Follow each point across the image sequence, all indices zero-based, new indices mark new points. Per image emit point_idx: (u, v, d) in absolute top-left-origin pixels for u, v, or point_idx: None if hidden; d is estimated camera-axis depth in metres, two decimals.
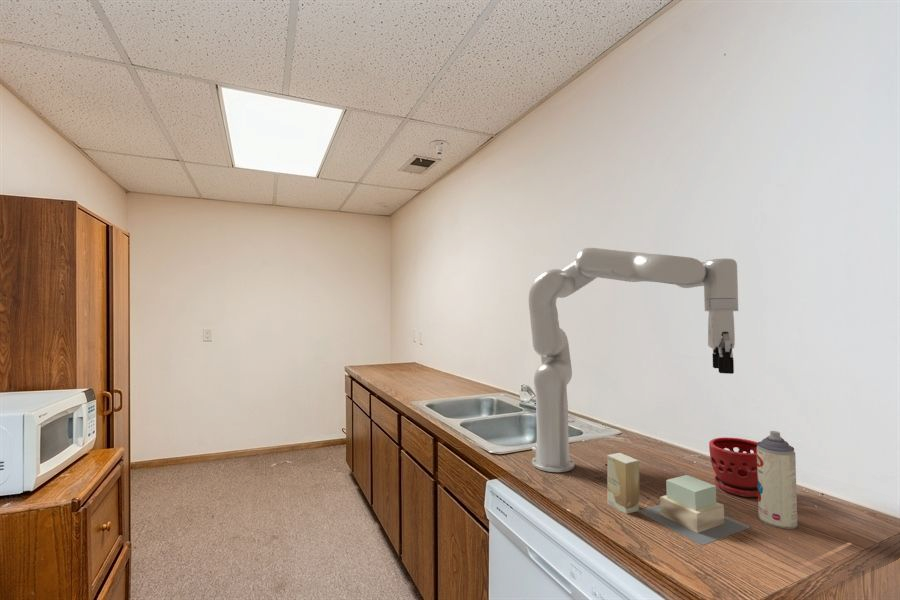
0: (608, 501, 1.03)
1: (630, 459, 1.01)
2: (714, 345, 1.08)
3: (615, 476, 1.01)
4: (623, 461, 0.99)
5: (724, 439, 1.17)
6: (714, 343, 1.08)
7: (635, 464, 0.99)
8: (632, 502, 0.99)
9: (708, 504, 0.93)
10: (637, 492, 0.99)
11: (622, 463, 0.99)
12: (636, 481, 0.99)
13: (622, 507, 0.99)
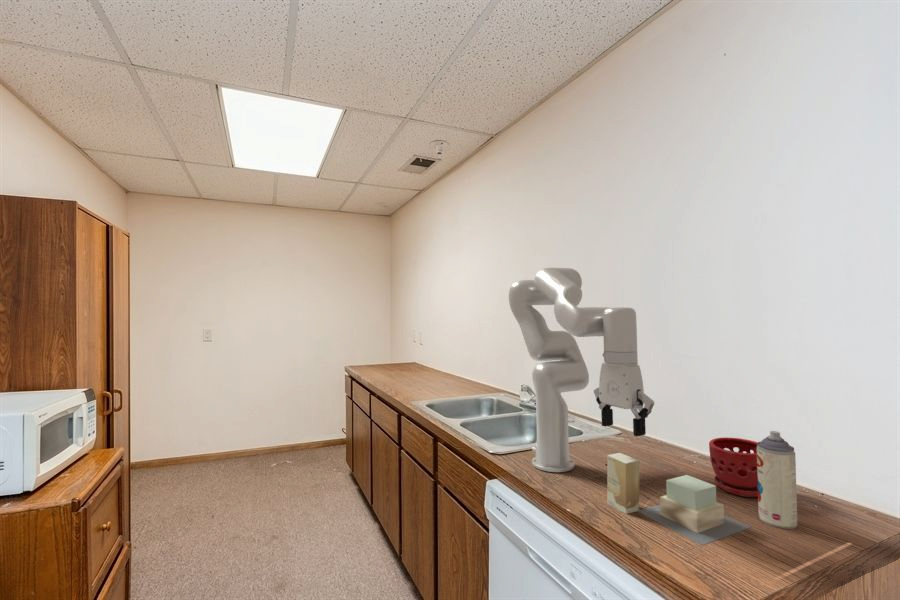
0: (608, 501, 1.03)
1: (630, 459, 1.01)
2: (631, 405, 0.96)
3: (615, 476, 1.01)
4: (623, 461, 0.99)
5: (724, 439, 1.17)
6: (631, 403, 0.96)
7: (635, 464, 0.99)
8: (632, 502, 0.99)
9: (708, 504, 0.93)
10: (637, 492, 0.99)
11: (622, 463, 0.99)
12: (636, 481, 0.99)
13: (622, 507, 0.99)
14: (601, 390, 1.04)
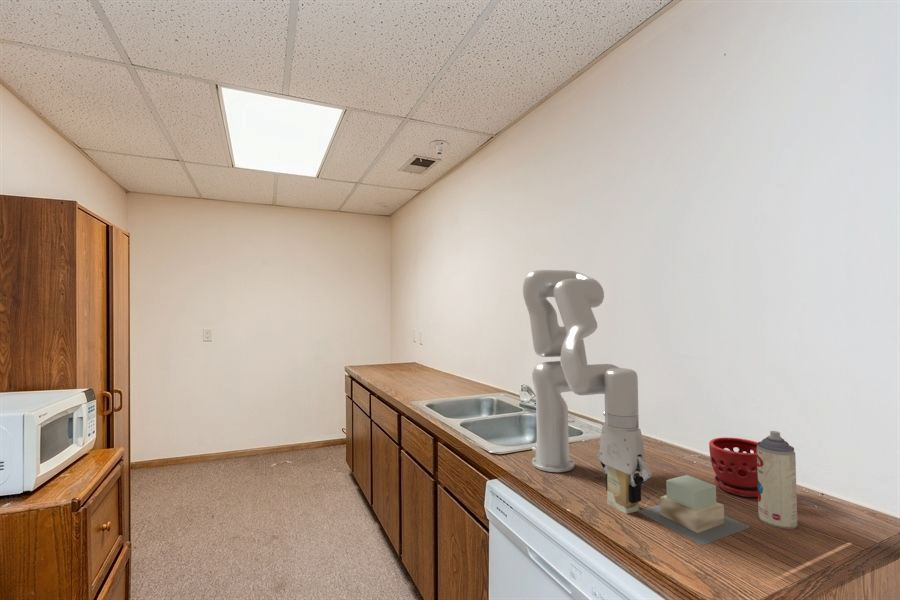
0: (608, 501, 1.03)
1: None
2: (631, 471, 0.96)
3: (615, 476, 1.01)
4: None
5: (724, 439, 1.17)
6: (631, 469, 0.96)
7: None
8: None
9: (708, 504, 0.93)
10: None
11: None
12: None
13: (622, 507, 0.99)
14: (602, 450, 1.04)
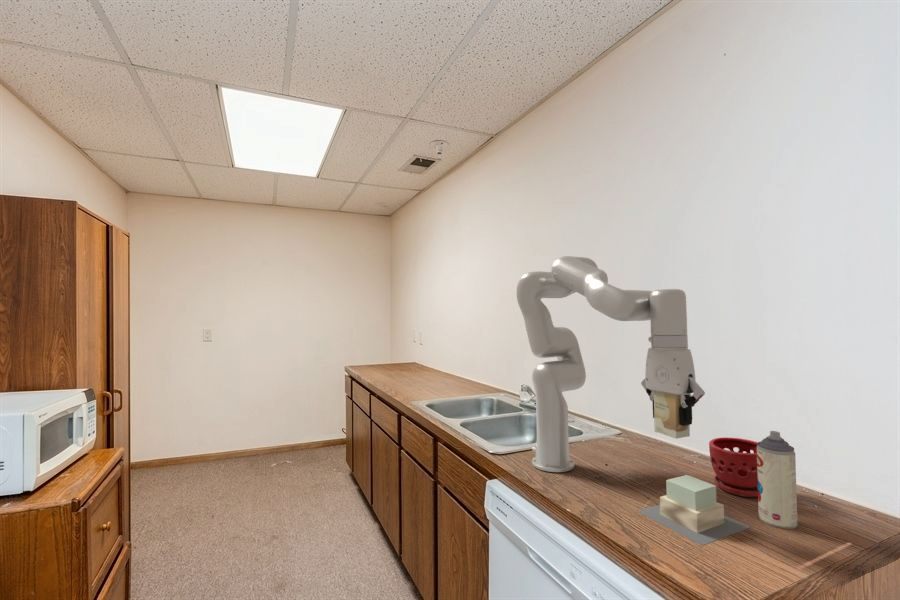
0: (655, 428, 0.99)
1: None
2: (682, 391, 0.92)
3: (664, 400, 0.96)
4: None
5: (724, 439, 1.17)
6: (682, 388, 0.92)
7: None
8: None
9: (708, 504, 0.93)
10: None
11: None
12: None
13: (672, 431, 0.94)
14: (648, 376, 1.00)
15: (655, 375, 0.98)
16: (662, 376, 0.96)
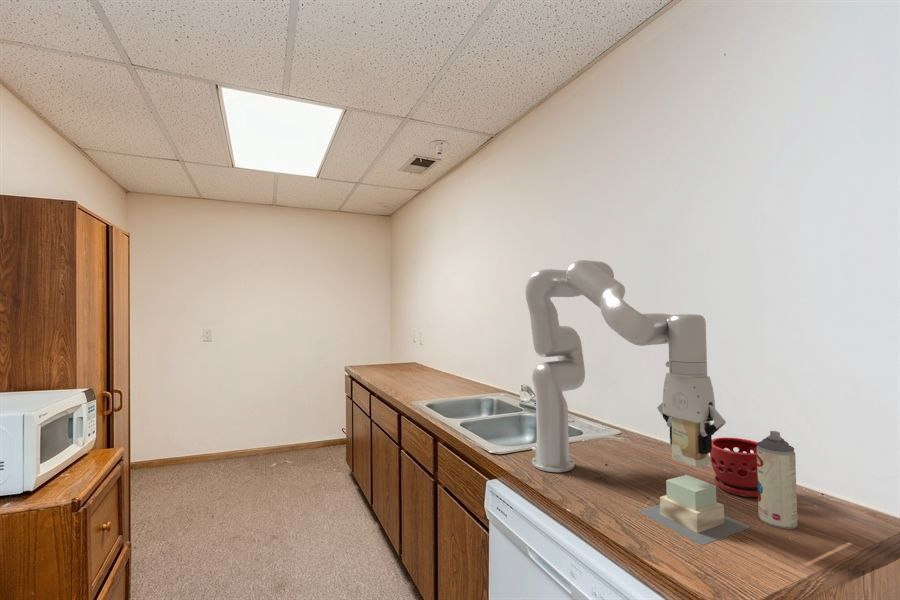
0: (673, 455, 0.97)
1: None
2: (702, 419, 0.90)
3: (682, 427, 0.95)
4: None
5: (724, 439, 1.17)
6: (703, 417, 0.90)
7: None
8: None
9: (708, 504, 0.93)
10: None
11: None
12: None
13: (691, 459, 0.93)
14: (665, 402, 0.98)
15: (673, 401, 0.96)
16: (681, 403, 0.94)
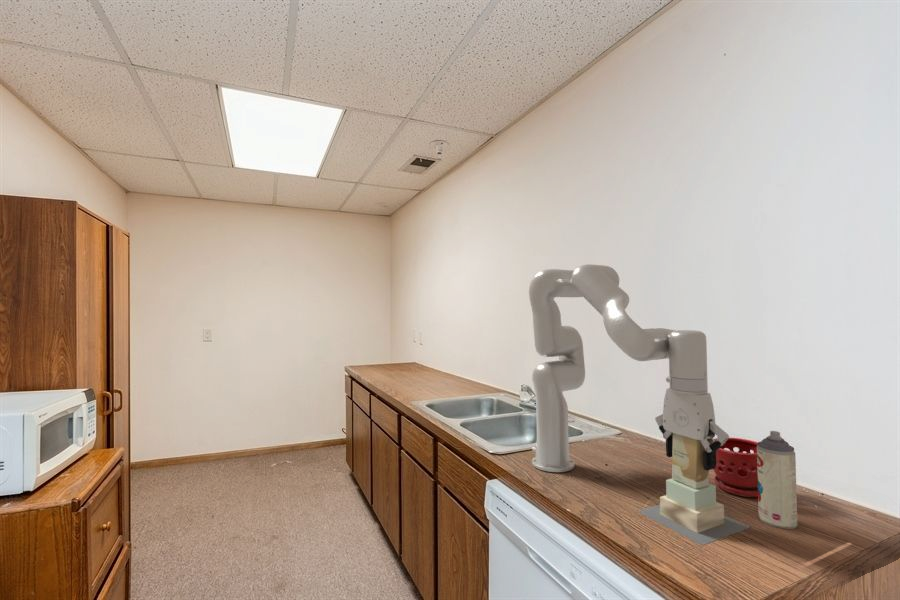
0: (673, 475, 0.97)
1: None
2: (703, 437, 0.90)
3: (683, 448, 0.95)
4: None
5: None
6: (703, 434, 0.90)
7: None
8: (702, 475, 0.93)
9: (708, 504, 0.93)
10: None
11: None
12: None
13: (691, 480, 0.93)
14: (666, 418, 0.98)
15: (673, 418, 0.96)
16: (681, 419, 0.94)
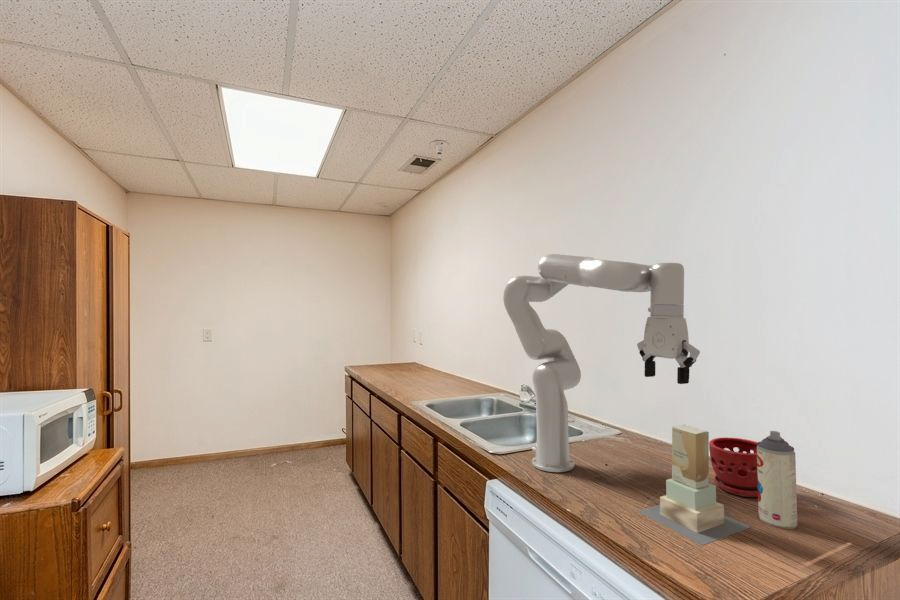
0: (673, 476, 0.97)
1: (698, 430, 0.95)
2: (676, 355, 1.01)
3: (683, 449, 0.95)
4: (692, 432, 0.93)
5: (724, 439, 1.17)
6: (676, 352, 1.01)
7: (705, 435, 0.93)
8: (702, 475, 0.93)
9: (708, 504, 0.93)
10: (707, 465, 0.93)
11: (691, 434, 0.93)
12: (706, 453, 0.93)
13: (691, 481, 0.93)
14: (646, 342, 1.09)
15: (652, 341, 1.07)
16: (658, 342, 1.06)
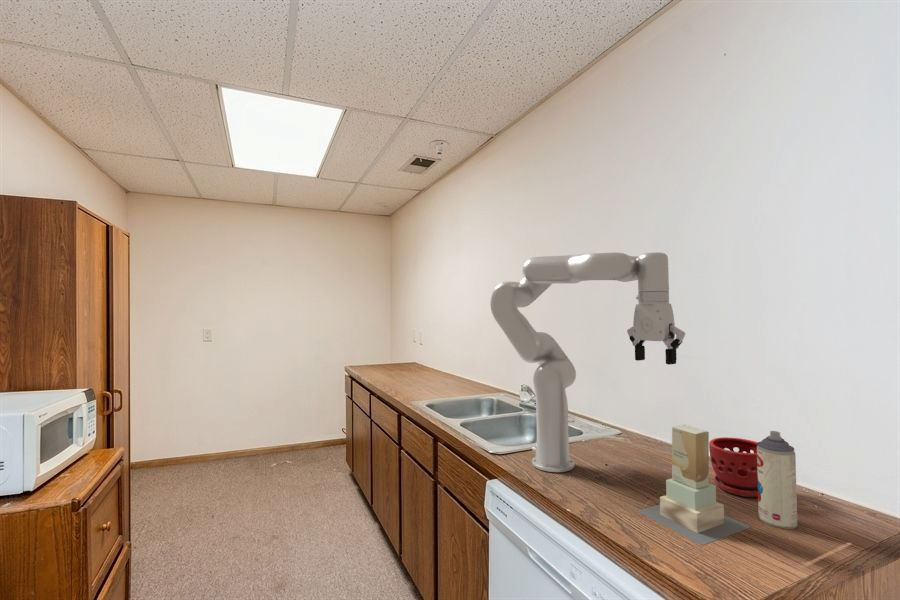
0: (673, 476, 0.97)
1: (698, 430, 0.95)
2: (664, 337, 1.09)
3: (683, 449, 0.95)
4: (692, 432, 0.93)
5: (724, 439, 1.17)
6: (664, 335, 1.09)
7: (705, 435, 0.93)
8: (702, 475, 0.93)
9: (708, 504, 0.93)
10: (707, 465, 0.93)
11: (691, 434, 0.93)
12: (706, 453, 0.93)
13: (691, 481, 0.93)
14: (635, 328, 1.17)
15: (641, 326, 1.15)
16: (647, 326, 1.13)
